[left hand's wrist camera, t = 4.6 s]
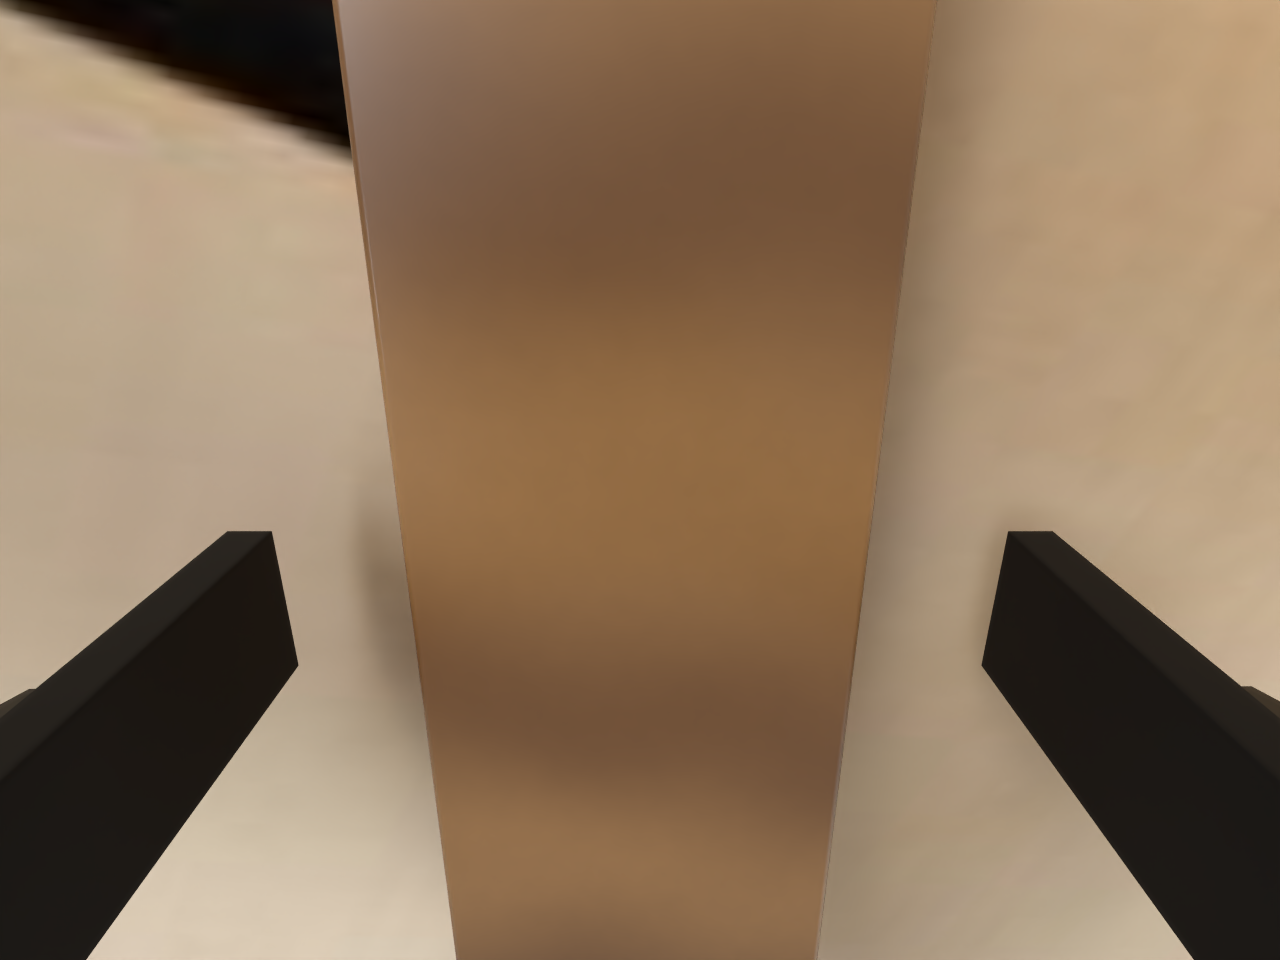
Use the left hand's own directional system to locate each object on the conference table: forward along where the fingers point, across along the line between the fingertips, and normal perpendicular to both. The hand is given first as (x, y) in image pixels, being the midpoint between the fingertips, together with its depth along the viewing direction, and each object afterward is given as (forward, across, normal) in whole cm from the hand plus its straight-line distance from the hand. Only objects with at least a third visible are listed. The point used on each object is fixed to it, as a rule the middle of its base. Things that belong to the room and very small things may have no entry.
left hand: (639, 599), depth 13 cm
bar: (+2, 0, -28) cm, 29 cm away
